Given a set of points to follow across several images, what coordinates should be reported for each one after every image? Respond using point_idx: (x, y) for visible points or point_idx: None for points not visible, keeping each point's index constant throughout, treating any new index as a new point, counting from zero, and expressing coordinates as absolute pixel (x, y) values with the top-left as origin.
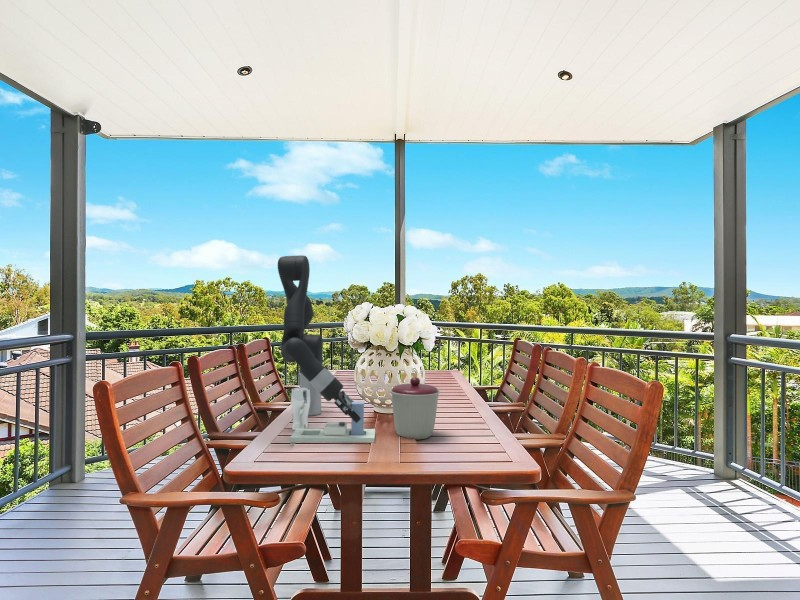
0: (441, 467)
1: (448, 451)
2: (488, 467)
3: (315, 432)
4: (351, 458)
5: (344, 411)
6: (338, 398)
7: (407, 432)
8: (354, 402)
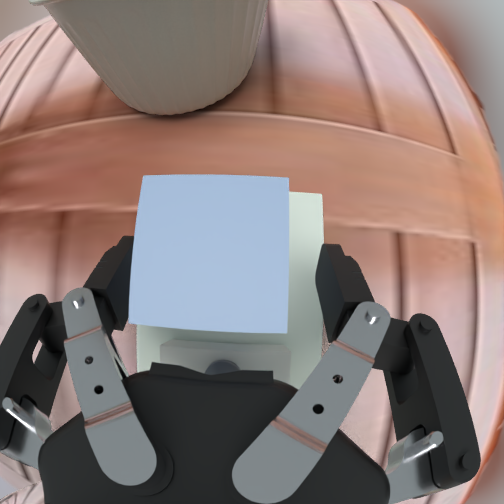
0: (451, 89)
1: (344, 38)
2: (419, 34)
3: None
4: (454, 291)
5: (414, 377)
6: (465, 478)
7: (246, 71)
8: (185, 297)
